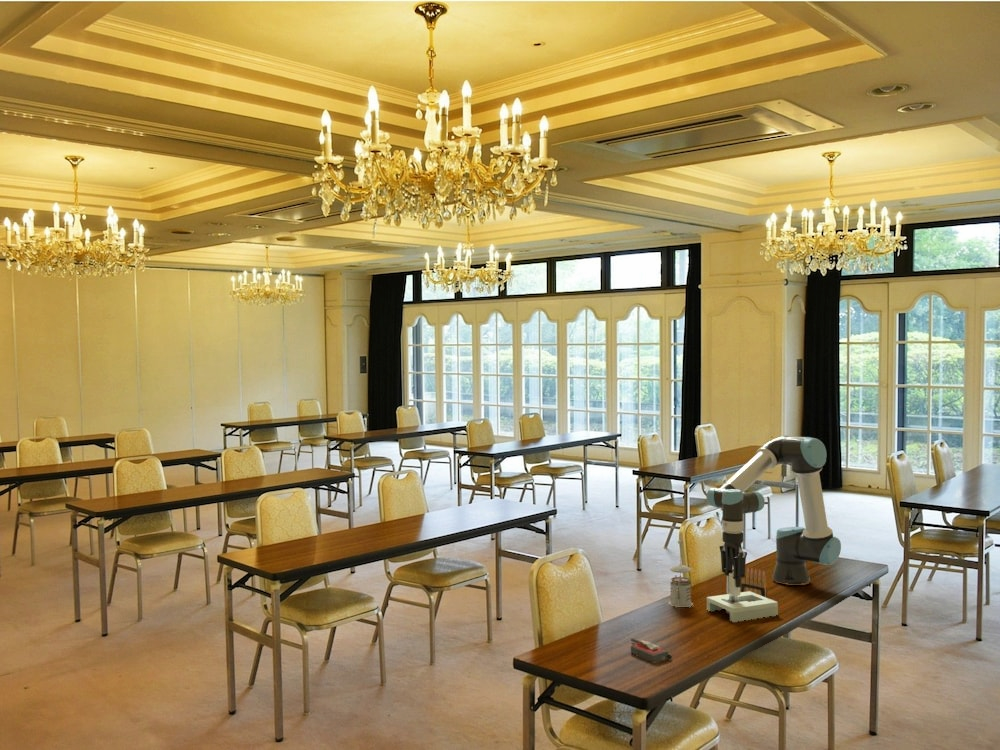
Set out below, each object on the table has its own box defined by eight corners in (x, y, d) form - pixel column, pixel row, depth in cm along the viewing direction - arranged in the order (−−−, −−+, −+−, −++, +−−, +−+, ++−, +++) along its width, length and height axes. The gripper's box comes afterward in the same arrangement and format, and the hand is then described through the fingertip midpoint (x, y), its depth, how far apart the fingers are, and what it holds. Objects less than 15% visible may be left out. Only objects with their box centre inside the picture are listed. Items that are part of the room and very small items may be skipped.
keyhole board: (749, 603, 317) (749, 590, 317) (777, 615, 302) (777, 601, 302) (706, 610, 310) (706, 596, 309) (733, 622, 295) (733, 608, 295)
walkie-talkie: (677, 660, 259) (634, 642, 276) (677, 646, 259) (633, 629, 276) (656, 666, 254) (614, 647, 271) (656, 651, 254) (614, 634, 271)
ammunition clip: (767, 600, 322) (767, 570, 322) (764, 601, 320) (764, 570, 320) (743, 594, 330) (743, 565, 330) (740, 595, 328) (740, 566, 328)
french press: (696, 602, 320) (695, 538, 320) (689, 610, 310) (689, 544, 309) (671, 599, 324) (670, 536, 324) (664, 607, 314) (663, 542, 313)
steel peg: (734, 610, 308) (734, 570, 308) (744, 614, 303) (743, 573, 303) (722, 611, 306) (722, 572, 306) (732, 615, 301) (731, 575, 301)
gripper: (711, 528, 310) (711, 589, 310) (738, 536, 295) (738, 601, 296) (727, 526, 313) (728, 587, 313) (755, 534, 298) (755, 598, 298)
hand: (733, 594), depth 304 cm, fingers closed on steel peg, 3 cm apart
